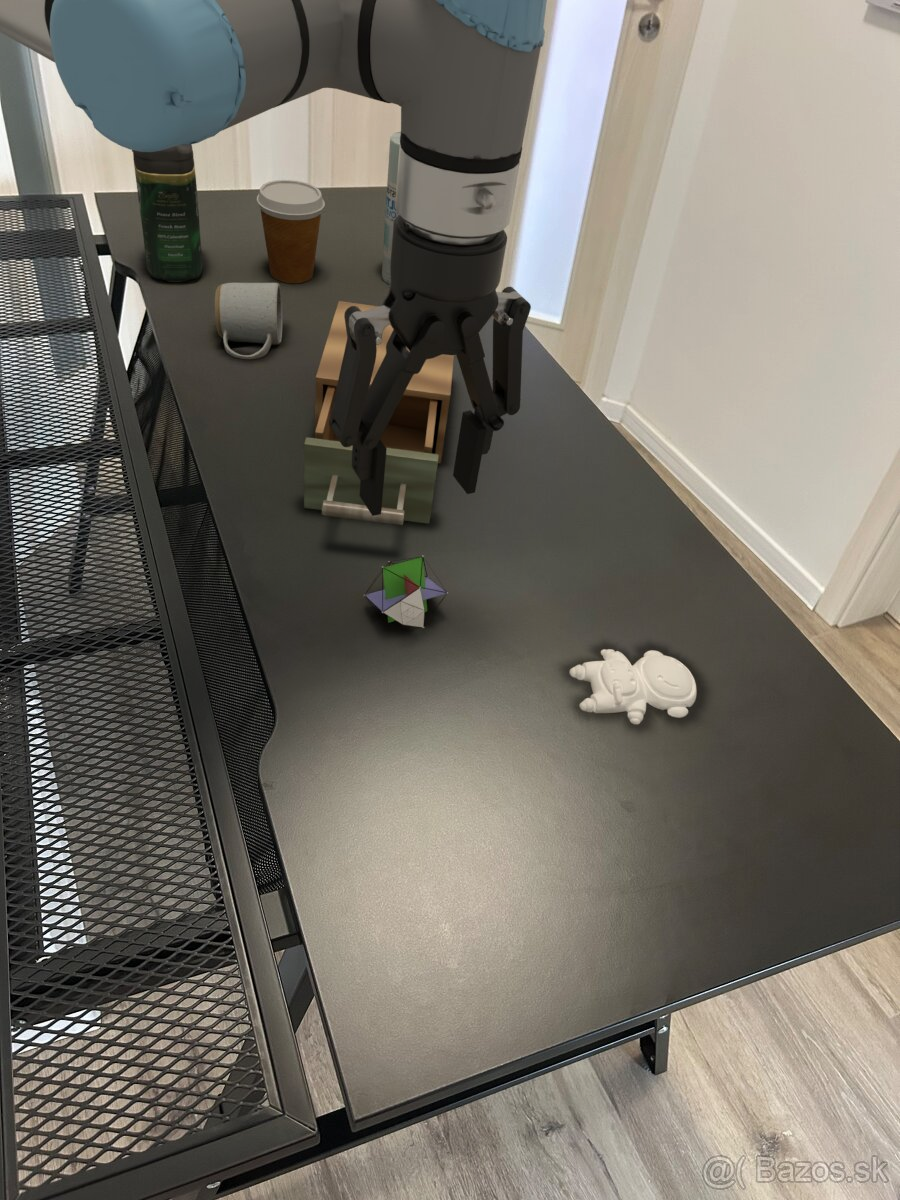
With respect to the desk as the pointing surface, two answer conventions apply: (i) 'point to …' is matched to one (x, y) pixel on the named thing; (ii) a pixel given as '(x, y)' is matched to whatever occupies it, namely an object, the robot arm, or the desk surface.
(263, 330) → the ceramic mug
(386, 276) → the spray paint can
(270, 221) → the disposable coffee cup
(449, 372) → the cabinet
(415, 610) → the geometric puzzle
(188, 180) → the coffee jar
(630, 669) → the astronaut figurine
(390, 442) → the drawer
